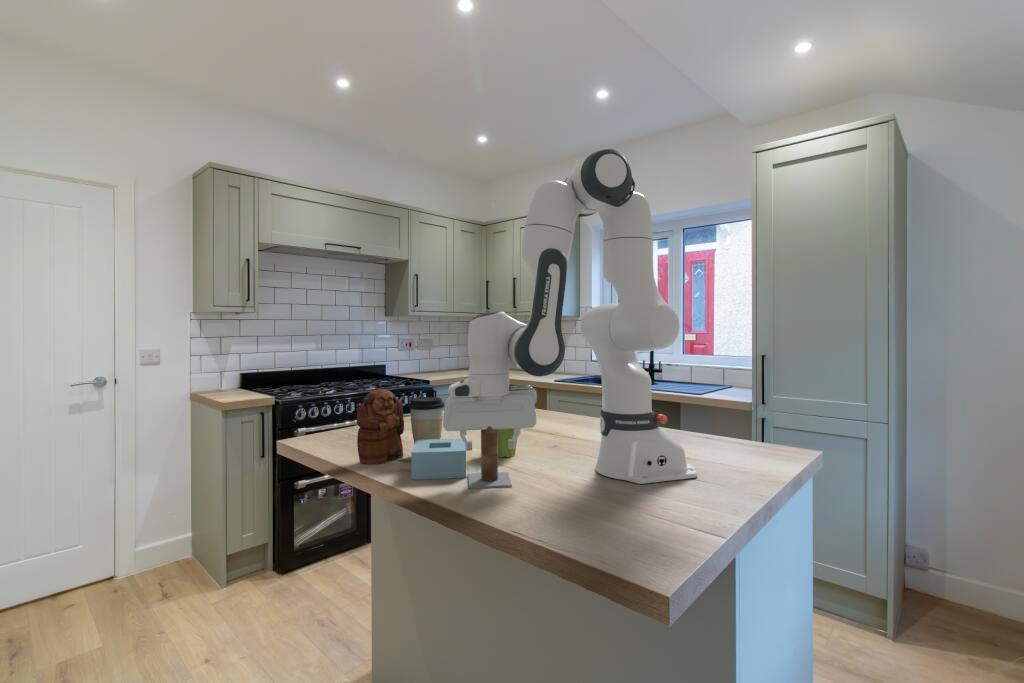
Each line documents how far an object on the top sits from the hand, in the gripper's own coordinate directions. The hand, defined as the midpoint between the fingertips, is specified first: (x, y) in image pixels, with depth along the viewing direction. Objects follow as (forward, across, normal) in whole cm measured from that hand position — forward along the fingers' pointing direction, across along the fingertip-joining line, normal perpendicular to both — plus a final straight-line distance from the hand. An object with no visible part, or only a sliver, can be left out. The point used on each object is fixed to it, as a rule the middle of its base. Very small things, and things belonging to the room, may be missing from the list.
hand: (490, 449), depth 106 cm
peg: (+7, 0, 0) cm, 7 cm away
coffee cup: (+7, +15, -22) cm, 28 cm away
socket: (+7, +11, -9) cm, 16 cm away
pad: (+7, 0, 0) cm, 7 cm away
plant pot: (+7, -5, -21) cm, 23 cm away
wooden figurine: (+7, +26, -20) cm, 34 cm away
